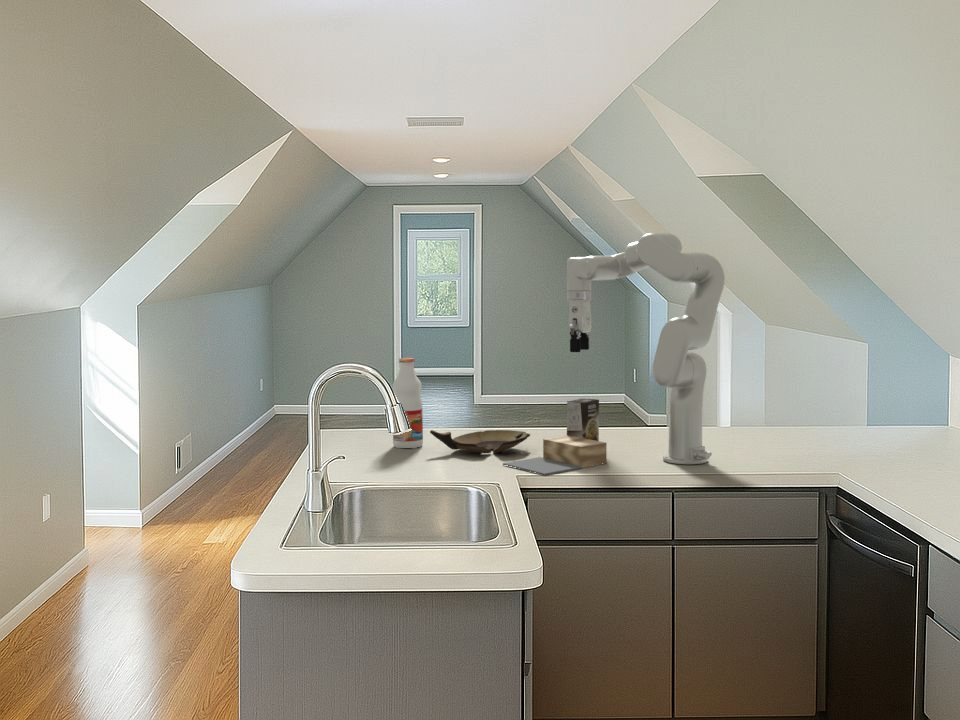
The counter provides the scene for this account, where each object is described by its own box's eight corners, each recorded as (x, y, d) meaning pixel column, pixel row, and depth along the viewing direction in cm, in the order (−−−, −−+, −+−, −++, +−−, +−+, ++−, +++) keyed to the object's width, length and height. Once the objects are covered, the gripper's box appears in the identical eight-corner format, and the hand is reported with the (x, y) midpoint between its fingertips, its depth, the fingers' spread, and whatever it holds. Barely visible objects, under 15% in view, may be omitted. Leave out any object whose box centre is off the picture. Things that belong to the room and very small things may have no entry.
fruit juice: (397, 443, 317) (395, 356, 315) (425, 444, 316) (424, 357, 313) (389, 449, 308) (388, 359, 305) (419, 449, 307) (418, 360, 304)
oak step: (606, 463, 283) (606, 442, 283) (581, 467, 277) (581, 446, 277) (568, 455, 296) (568, 435, 295) (543, 459, 290) (543, 439, 289)
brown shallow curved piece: (529, 458, 291) (529, 433, 290) (428, 458, 293) (427, 432, 293) (530, 445, 313) (530, 421, 313) (437, 444, 316) (436, 420, 315)
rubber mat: (582, 468, 276) (582, 466, 276) (544, 475, 268) (544, 473, 267) (539, 459, 290) (539, 457, 290) (502, 465, 282) (502, 463, 282)
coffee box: (584, 456, 294) (584, 402, 292) (565, 453, 298) (565, 400, 296) (599, 451, 301) (599, 399, 300) (581, 449, 305) (581, 397, 303)
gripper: (583, 297, 301) (583, 353, 302) (597, 295, 317) (598, 348, 318) (559, 297, 303) (560, 352, 305) (575, 295, 319) (575, 348, 321)
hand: (579, 350), depth 311 cm, fingers open, 9 cm apart
